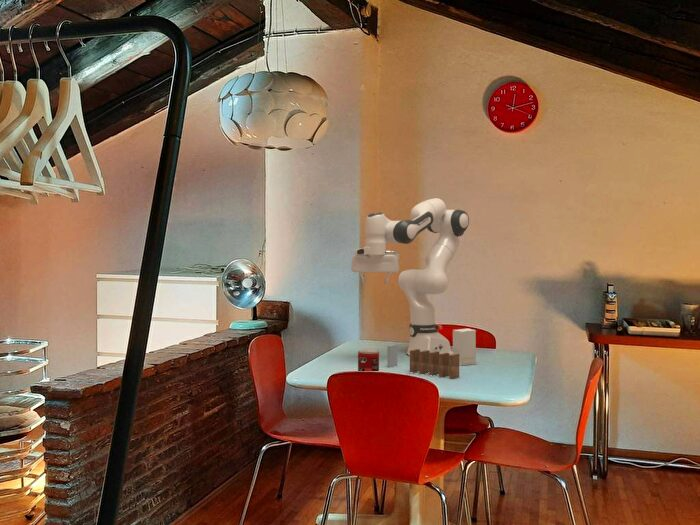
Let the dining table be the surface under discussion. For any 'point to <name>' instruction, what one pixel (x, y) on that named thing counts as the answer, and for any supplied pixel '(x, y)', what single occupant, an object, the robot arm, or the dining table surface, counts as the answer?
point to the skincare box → (465, 345)
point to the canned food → (368, 360)
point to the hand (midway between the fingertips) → (375, 283)
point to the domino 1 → (392, 355)
